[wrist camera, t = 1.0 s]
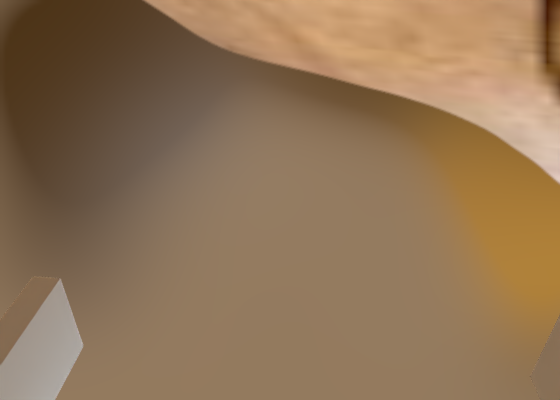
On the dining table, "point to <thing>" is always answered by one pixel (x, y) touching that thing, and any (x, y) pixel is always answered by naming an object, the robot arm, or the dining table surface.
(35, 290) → the robot arm
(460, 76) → the dining table surface
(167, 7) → the dining table surface
